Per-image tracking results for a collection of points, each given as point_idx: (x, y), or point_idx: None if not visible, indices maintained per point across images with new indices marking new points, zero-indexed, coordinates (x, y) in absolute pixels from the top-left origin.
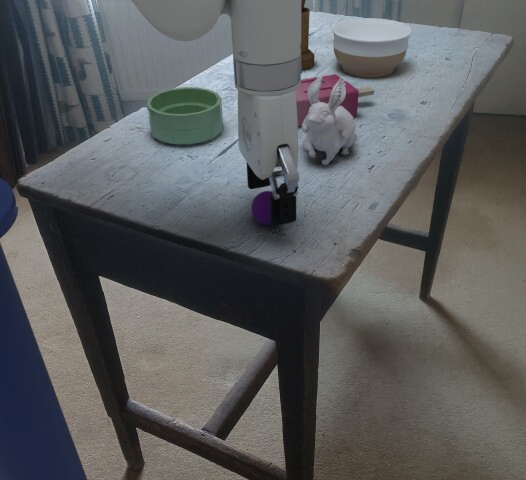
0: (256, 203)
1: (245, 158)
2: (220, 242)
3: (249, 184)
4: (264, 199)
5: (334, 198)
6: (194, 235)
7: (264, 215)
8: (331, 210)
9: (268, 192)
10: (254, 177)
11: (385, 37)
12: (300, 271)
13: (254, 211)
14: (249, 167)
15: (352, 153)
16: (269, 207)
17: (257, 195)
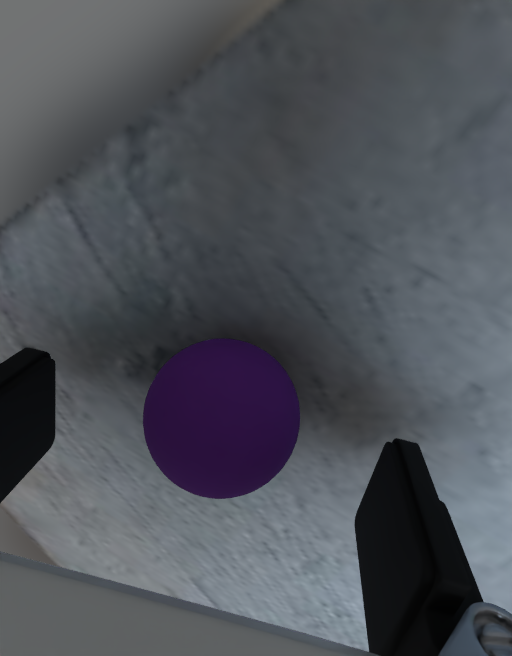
0: (204, 384)
1: (214, 644)
2: (195, 123)
3: (402, 456)
4: (178, 428)
5: (254, 598)
6: (323, 16)
7: (161, 369)
8: (197, 556)
9: (209, 475)
10: (391, 508)
11: None
12: None
13: (208, 350)
14: (416, 552)
15: None
16: (148, 412)
17: (248, 424)
